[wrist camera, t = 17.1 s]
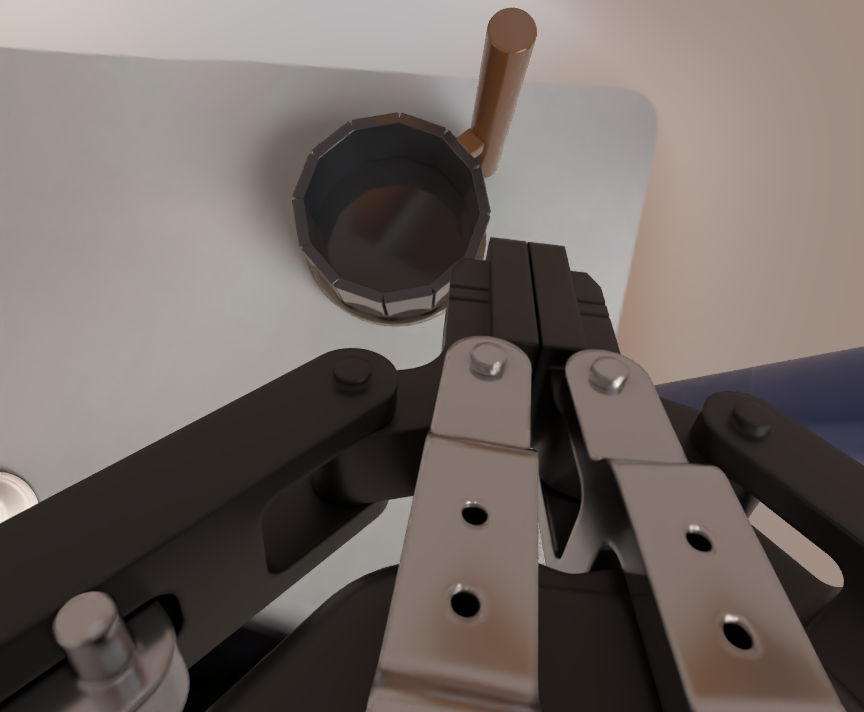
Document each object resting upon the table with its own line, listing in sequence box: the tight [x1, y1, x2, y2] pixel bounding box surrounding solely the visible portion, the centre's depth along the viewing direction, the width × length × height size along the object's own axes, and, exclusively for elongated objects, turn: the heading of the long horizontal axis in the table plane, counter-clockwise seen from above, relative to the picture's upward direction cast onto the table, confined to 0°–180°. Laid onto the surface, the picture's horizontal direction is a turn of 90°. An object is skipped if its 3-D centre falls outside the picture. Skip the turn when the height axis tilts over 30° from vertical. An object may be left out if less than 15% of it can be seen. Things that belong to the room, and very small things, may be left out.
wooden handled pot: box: [292, 8, 537, 318], centre depth 29 cm, size 13×10×12 cm
